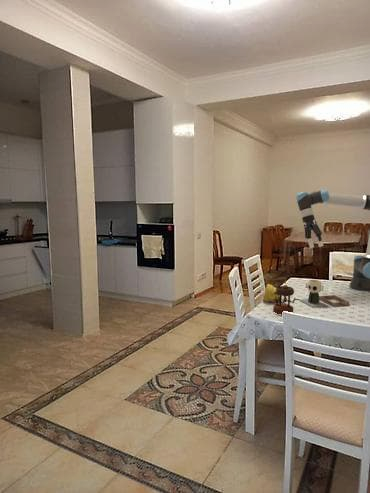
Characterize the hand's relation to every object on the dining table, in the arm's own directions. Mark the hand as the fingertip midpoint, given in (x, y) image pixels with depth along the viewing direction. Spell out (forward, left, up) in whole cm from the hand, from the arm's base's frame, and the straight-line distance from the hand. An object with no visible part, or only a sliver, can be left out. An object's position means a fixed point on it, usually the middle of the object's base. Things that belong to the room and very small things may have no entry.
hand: (316, 247), depth 226 cm
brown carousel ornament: (+32, +17, -27) cm, 45 cm away
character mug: (+14, +22, -30) cm, 40 cm away
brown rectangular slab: (+1, +22, -30) cm, 38 cm away
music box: (+39, +35, -30) cm, 61 cm away
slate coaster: (+14, +22, -30) cm, 40 cm away
